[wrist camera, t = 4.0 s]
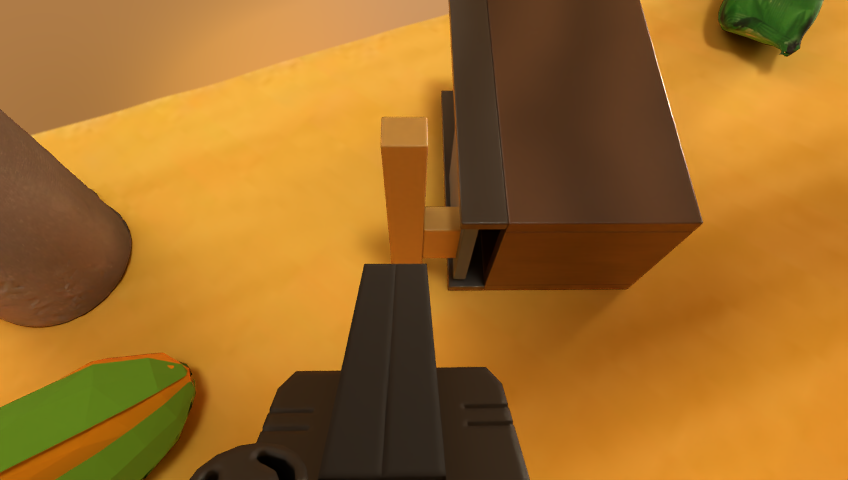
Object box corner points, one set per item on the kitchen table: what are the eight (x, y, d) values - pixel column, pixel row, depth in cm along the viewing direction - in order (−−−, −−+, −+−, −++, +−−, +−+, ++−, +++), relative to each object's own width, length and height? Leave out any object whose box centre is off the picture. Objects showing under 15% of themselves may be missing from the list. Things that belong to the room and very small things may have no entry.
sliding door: (459, 175, 37) (484, 19, 24) (465, 279, 33) (497, 160, 21) (393, 175, 37) (384, 18, 24) (392, 279, 33) (380, 160, 21)
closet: (589, 97, 42) (638, -8, 33) (627, 289, 35) (703, 223, 25) (441, 96, 41) (449, -10, 32) (448, 290, 34) (461, 223, 25)
